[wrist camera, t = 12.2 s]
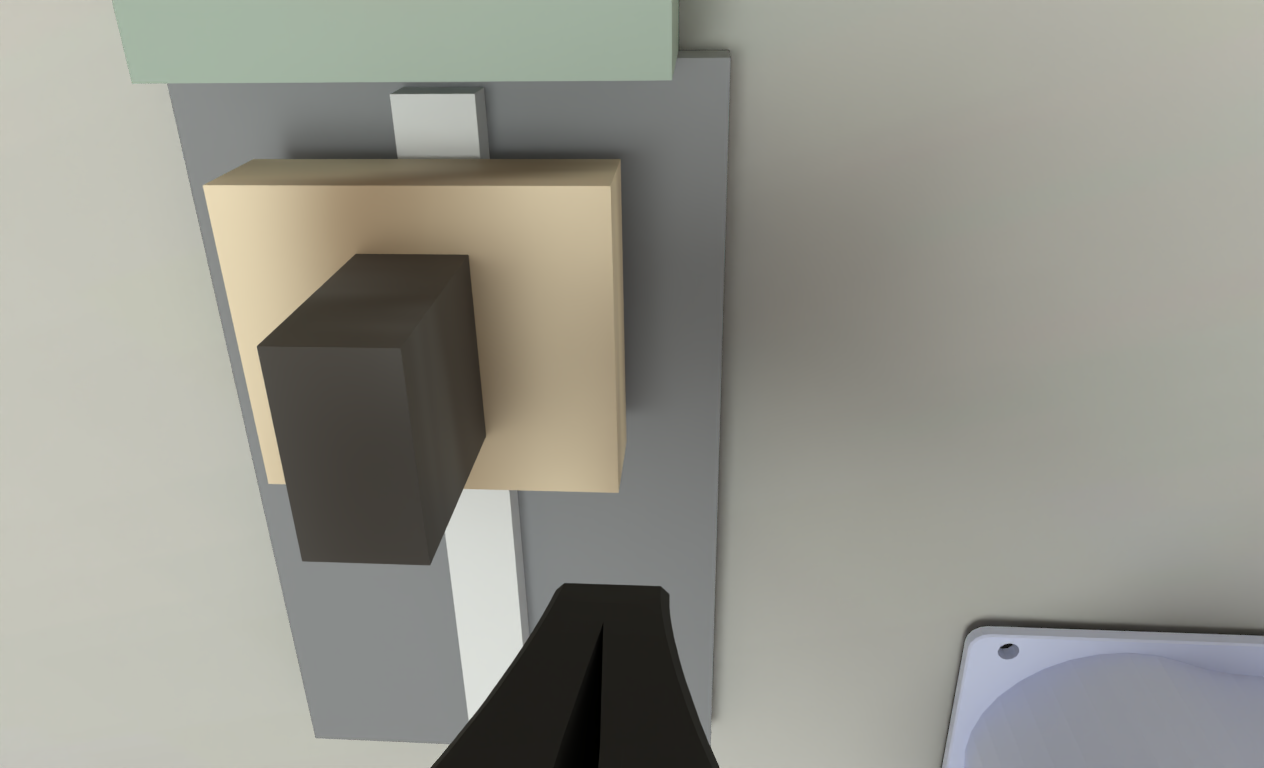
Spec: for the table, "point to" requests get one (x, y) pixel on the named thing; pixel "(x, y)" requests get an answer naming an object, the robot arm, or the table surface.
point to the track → (511, 519)
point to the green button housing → (397, 40)
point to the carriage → (424, 336)
